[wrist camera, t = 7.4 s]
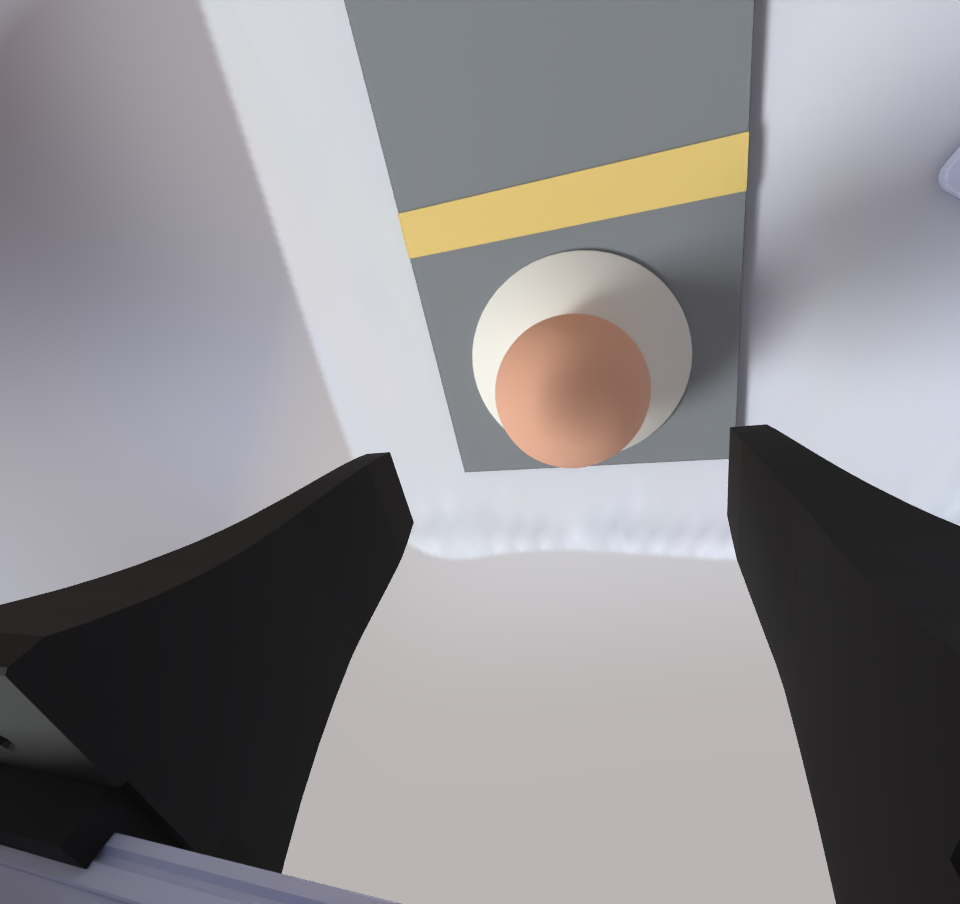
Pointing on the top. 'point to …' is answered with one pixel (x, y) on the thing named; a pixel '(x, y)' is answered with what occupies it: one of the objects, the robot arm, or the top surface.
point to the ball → (573, 390)
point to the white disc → (598, 292)
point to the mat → (568, 174)
